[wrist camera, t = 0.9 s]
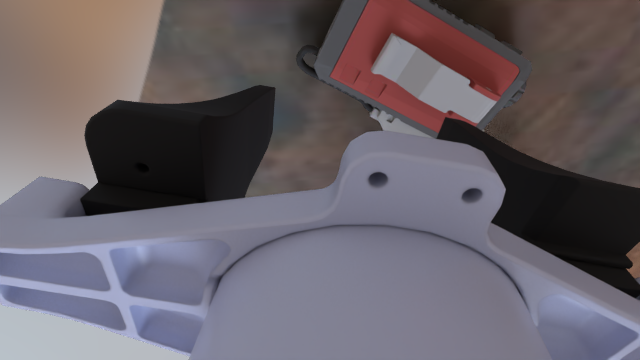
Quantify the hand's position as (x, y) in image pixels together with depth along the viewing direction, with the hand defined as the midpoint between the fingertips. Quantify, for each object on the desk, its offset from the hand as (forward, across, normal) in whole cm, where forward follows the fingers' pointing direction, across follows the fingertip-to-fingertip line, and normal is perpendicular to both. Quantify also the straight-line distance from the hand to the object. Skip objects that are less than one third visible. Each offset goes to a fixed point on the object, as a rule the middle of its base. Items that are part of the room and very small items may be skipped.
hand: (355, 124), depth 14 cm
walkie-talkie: (+10, -6, +1) cm, 12 cm away
